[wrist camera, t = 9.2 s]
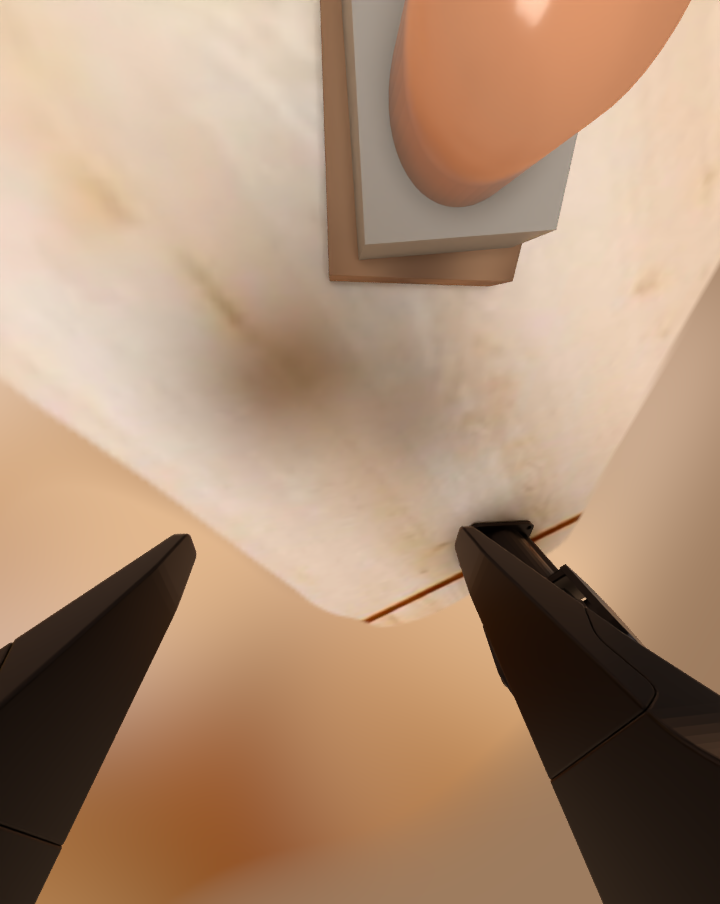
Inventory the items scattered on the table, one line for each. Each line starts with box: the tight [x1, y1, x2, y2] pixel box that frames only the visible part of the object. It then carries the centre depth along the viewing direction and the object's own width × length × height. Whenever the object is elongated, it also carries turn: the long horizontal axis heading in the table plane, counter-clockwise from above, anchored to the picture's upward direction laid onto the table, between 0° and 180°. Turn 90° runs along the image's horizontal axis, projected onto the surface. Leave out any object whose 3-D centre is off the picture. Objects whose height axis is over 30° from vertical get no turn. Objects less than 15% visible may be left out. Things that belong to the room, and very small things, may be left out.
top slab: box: [341, 0, 577, 260], centre depth 10 cm, size 8×8×3 cm
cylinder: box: [389, 0, 691, 207], centre depth 7 cm, size 6×6×4 cm
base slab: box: [320, 0, 522, 286], centre depth 12 cm, size 10×10×3 cm
